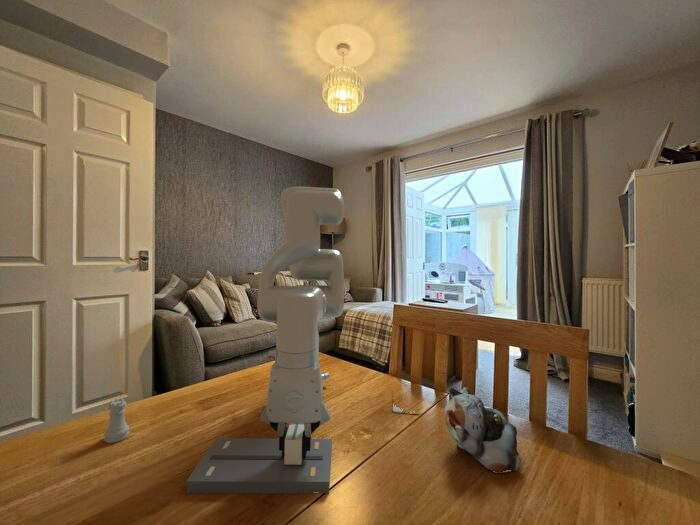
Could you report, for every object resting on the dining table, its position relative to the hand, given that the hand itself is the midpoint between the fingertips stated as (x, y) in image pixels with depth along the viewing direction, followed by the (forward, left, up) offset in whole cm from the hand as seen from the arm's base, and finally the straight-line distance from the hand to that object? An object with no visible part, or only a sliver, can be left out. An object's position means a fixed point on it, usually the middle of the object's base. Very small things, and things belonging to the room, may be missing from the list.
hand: (295, 452), depth 57 cm
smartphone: (-38, -1, -4) cm, 39 cm away
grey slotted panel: (+4, -4, -3) cm, 6 cm away
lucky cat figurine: (-30, +23, -3) cm, 38 cm away
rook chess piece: (+22, -35, -3) cm, 41 cm away
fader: (0, 0, -1) cm, 1 cm away
